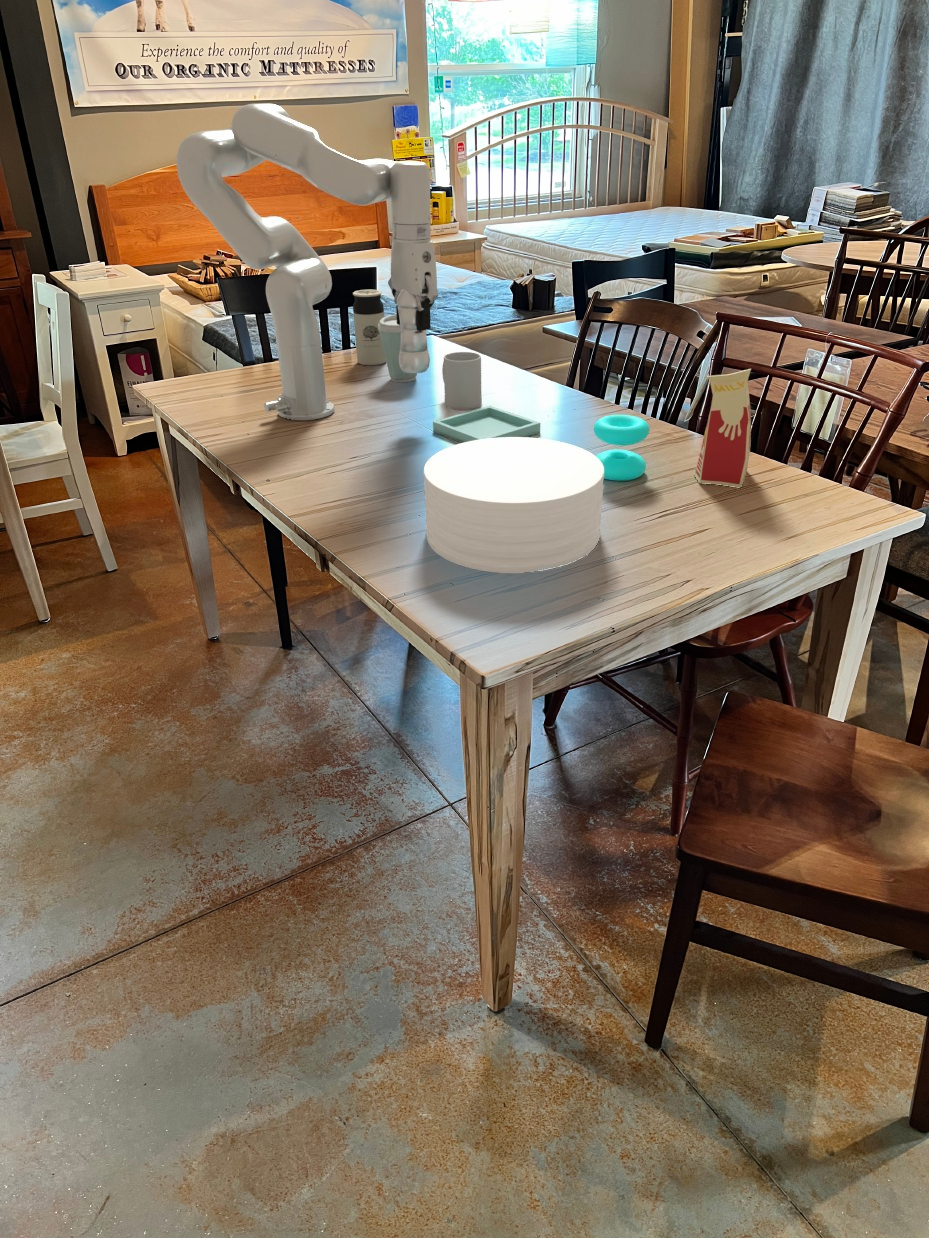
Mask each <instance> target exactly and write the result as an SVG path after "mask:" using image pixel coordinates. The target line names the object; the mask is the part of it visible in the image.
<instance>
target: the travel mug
mask: <svg viewBox="0 0 929 1238" xmlns="http://www.w3.org/2000/svg"><path fill="white" fill-rule="evenodd" d="M382 294H383V293H382V291H381V290H379V289H360V290H355V291H354V292H352V295H353V296H354V303H353V305H352V309H353V310H352V311H353V323H354V334H355V335H354V337H355V348H356V350H355V351H356V358H357V359H356V361H357V363H358V364H360V365H362V366H379V365H383V364H385V363H387V362H386V358H385V354H384V349H383V345H382V341H381V337H380V332H379V330H378V329H377V328H378V324H379V321H380V320H381V319H382V318H383V317H385V310H384V309H385V307H384V303H383V301H382V300H381V299H382V298H381V297H382Z"/></svg>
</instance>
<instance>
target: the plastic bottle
mask: <svg viewBox="0 0 929 1238" xmlns="http://www.w3.org/2000/svg"><path fill="white" fill-rule="evenodd" d="M422 293H424V291H422ZM421 299H422V303H423V301H424V300H425V297H422V298H421ZM396 305H397V306H398V312H399V318H400V327H401V344H400V349H401V350H400V353H399V364H400V368H401V370H402V371H403V372H406V373H413V374H416V373H417V374H422V373H425V372H427V371H428V369H429V368H430V364H431V359H430V352H429V348H428V347H429V346H428V337H427V330H423V331H417V329H416V311H417V310H418V306H417V302H416V297H415V295H412V294H410V293H408V292H407V291H406V290H404V289H403V290H401V291H400V293H399V295H398V298H397V304H396Z"/></svg>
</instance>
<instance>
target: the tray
mask: <svg viewBox="0 0 929 1238" xmlns="http://www.w3.org/2000/svg"><path fill="white" fill-rule="evenodd" d="M432 430H433V433H436V434H437V435H438V434H439V435H441V436H443V437H446V438H448V439H451V440H454V441H456V442H458V443H464V442H469V441H474V440H480V439H487V438H498V437H532V436H535V435H538V434H541V422H539V421H536V420H534V419H531V418H528V417H524V416H523V415H522V416H521V415H519V414H515V413H512V412H510V411H507V410H504V409H502V408H501V409H500V408H497V407H494V406H492V405H488V406H483V407H480V408H478V409H477V408H475V409H472V410H470V411H469V410H468V411H466V412H463V413H459V414H455V415H452V416H448V417H445V418H441V419H438V420H434V421H432Z"/></svg>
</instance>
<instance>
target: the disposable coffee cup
mask: <svg viewBox="0 0 929 1238" xmlns="http://www.w3.org/2000/svg"><path fill="white" fill-rule="evenodd" d="M377 329H378V330H379V332H380V337H381V341H382V345H383V349H384V354H385V358H386V362H385V363H386V366H387V369H388V375H389V378H390V379H391V382H395V383H411V382H412V381H415V380H416V379H417V376H418V373H416V374H413V373H406V372H403V371H402V370H401V368H400V364H399V353H400V350H401V349H400V344H401V327H400V325H398V324H397V317H396V314H389V315H386V316H384V317H383V318H382V319H381V320H380V321H379V324H378V328H377Z"/></svg>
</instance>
